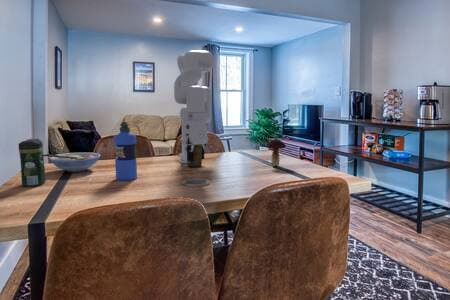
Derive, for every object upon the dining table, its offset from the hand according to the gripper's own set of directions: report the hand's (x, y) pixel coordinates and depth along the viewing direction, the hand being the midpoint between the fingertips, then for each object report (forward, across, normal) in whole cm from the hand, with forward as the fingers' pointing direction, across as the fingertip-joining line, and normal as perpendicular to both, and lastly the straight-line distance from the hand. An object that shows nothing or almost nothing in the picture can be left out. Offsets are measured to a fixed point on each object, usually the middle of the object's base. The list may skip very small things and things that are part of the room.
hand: (195, 159), depth 136 cm
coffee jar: (+10, -41, +52) cm, 67 cm away
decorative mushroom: (+10, +53, -11) cm, 55 cm away
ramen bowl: (+10, -16, +63) cm, 66 cm away
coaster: (+10, 0, 0) cm, 10 cm away
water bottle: (+10, -12, +30) cm, 34 cm away
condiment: (+3, -1, 0) cm, 3 cm away
